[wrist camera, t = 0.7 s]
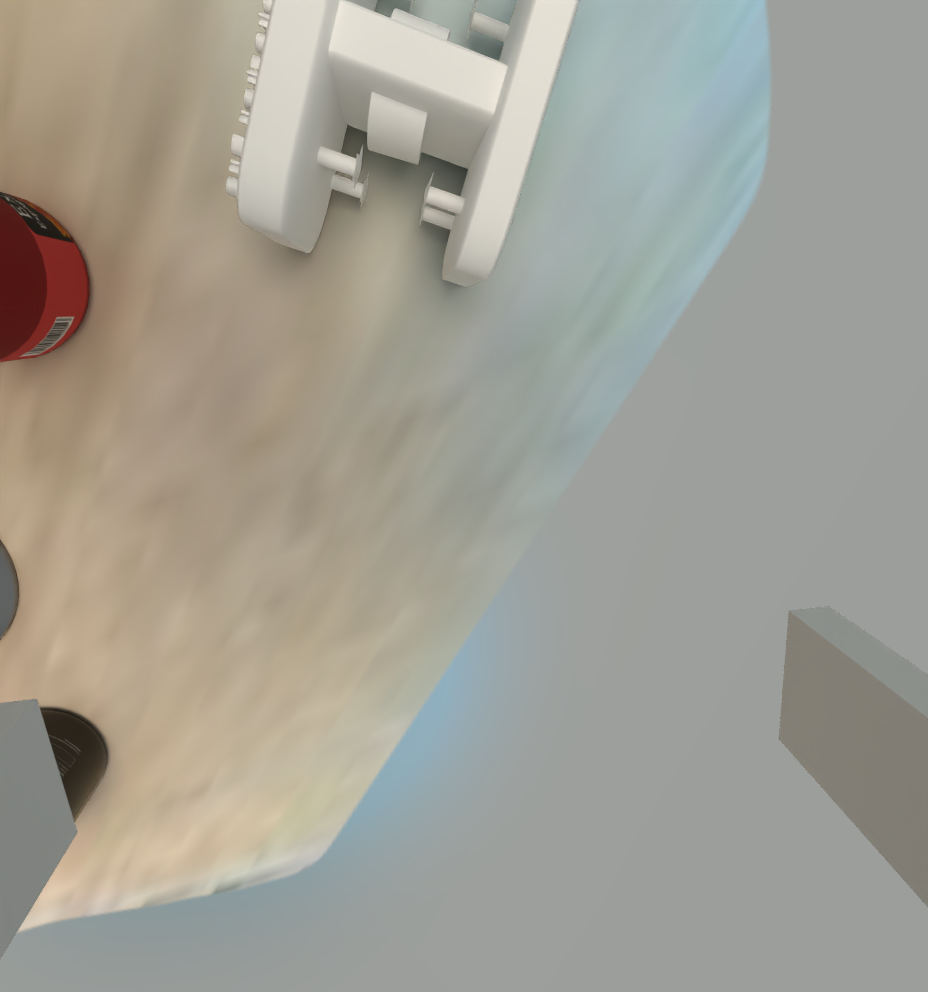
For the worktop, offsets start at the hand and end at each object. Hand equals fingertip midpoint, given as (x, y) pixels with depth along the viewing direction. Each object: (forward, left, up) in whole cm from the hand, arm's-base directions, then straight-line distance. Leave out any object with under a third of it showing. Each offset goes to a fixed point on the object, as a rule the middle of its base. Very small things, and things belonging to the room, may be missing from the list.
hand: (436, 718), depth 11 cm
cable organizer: (-13, +9, -27) cm, 32 cm away
